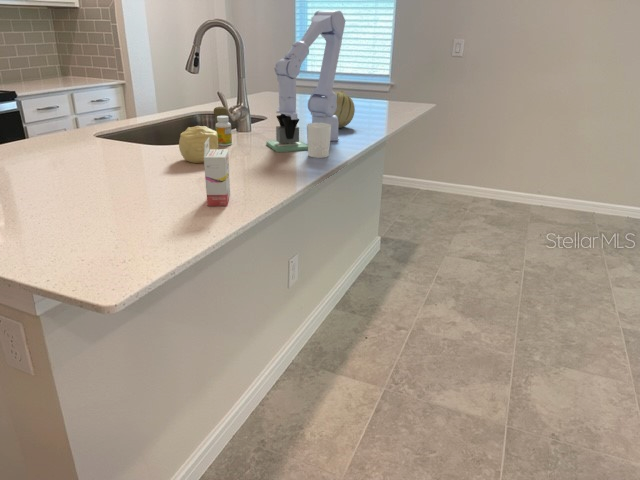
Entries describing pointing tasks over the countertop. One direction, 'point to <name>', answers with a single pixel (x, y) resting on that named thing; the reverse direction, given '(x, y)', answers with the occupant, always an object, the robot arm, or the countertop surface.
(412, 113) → the countertop surface
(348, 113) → the ribbed yellow gourd
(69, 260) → the countertop surface
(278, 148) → the board
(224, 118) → the supplement bottle
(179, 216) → the countertop surface
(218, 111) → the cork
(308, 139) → the white cup
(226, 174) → the ink cartridge box
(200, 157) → the pale yellow rounded piece
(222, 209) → the countertop surface
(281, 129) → the block
